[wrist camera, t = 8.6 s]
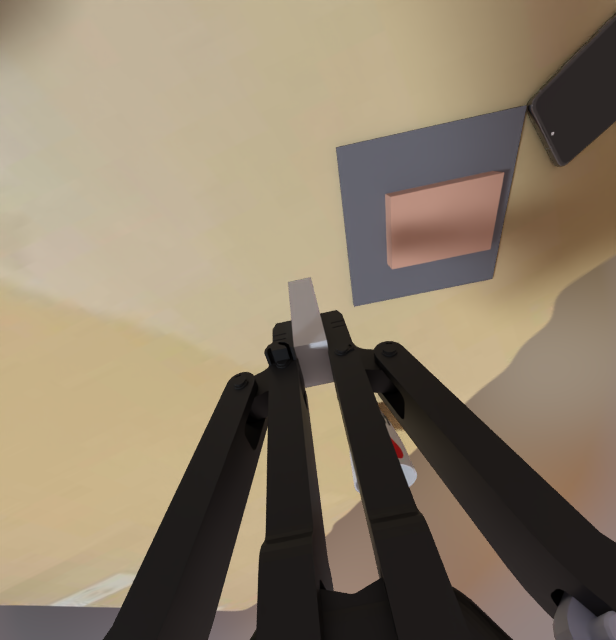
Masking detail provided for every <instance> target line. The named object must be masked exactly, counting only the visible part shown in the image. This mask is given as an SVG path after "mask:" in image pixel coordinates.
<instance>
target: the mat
mask: <svg viewBox="0 0 616 640" xmlns="http://www.w3.org/2000/svg"><path fill="white" fill-rule="evenodd" d="M526 107H527V105H525V106H520V107H516V108H511V109H507V110H502V111H498V112H493V113H489V114H484V115H480V116H475V117H471V118H466V119H462V120H457V121H453V122H448V123H444V124H439V125H435V126H430V127H426V128H421V129H417V130H412V131H408V132H403V133H399V134H394V135H390V136H385V137H381V138H376V139H372V140H367V141H363V142H358V143H354V144H349V145H345V146H340V147H336V152H337V161H338V170H339V179H340V188H341V197H342V206H343V214H344V223H345V232H346V241H347V250H348V259H349V268H350V277H351V286H352V295H353V304H354V307H355V306H360V305H365V304H369V303H374V302H379V301H384V300H389V299H394V298H399V297H404V296H409V295H414V294H419V293H424V292H429V291H434V290H439V289H444V288H449V287H454V286H459V285H464V284H469V283H474V282H479V281H484V280H489V279H492V278H493V273H494V268H495V263H496V258H497V253H498V248H499V243H500V238H501V233H502V228H503V223H504V217H505V212H506V207H507V202H508V197H509V192H510V187H511V182H512V177H513V172H514V167H515V162H516V157H517V152H518V147H519V142H520V137H521V132H522V127H523V122H524V117H525V112H526ZM490 171H497V172H504V177H503V183H502V188H501V194H500V199H499V205H498V210H497V216H496V221H495V227H494V232H493V238H492V243H491V249H490V250H485V251H480V252H475V253H470V254H465V255H460V256H456V257H451V258H446V259H441V260H436V261H431V262H426V263H421V264H417V265H412V266H407V267H402V268H397V269H391V268H390V266H389V265H388V264H387V241H386V208H385V194H387V193H392V192H397V191H401V190H406V189H411V188H415V187H420V186H425V185H429V184H434V183H439V182H443V181H448V180H452V179H457V178H462V177H466V176H471V175H476V174H480V173H485V172H490Z"/></svg>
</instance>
